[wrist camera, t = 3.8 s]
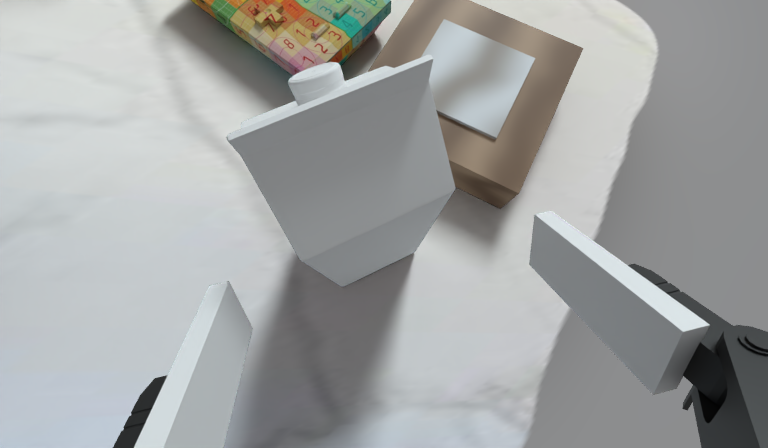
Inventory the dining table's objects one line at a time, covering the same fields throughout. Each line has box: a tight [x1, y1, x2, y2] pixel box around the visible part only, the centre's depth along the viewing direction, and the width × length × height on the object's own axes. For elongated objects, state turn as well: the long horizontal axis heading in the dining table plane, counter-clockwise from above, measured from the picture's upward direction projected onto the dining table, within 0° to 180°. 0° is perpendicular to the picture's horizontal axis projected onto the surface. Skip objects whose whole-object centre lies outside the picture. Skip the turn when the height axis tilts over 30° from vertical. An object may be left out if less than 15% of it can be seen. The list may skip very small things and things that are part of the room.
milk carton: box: [227, 55, 456, 287], centre depth 19 cm, size 7×7×19 cm
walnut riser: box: [368, 0, 583, 209], centre depth 30 cm, size 16×16×4 cm
